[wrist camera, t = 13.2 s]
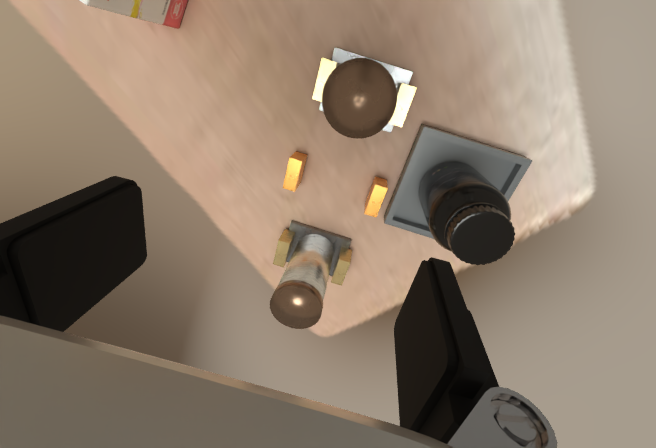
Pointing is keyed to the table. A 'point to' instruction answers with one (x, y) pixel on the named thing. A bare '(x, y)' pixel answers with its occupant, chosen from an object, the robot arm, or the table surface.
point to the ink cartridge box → (145, 9)
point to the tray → (440, 149)
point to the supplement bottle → (466, 213)
